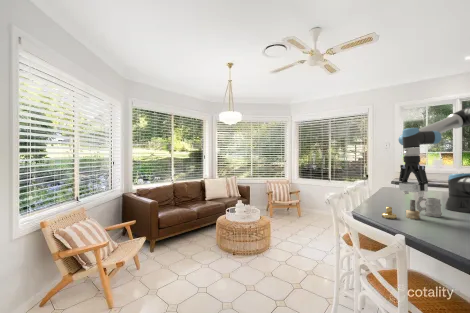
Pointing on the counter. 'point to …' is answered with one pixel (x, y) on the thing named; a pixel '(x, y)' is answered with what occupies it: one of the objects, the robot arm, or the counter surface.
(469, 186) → the robot arm
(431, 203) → the mug
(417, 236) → the counter surface
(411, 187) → the grey square block
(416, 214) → the stand
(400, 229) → the counter surface
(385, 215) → the hub
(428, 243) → the counter surface
